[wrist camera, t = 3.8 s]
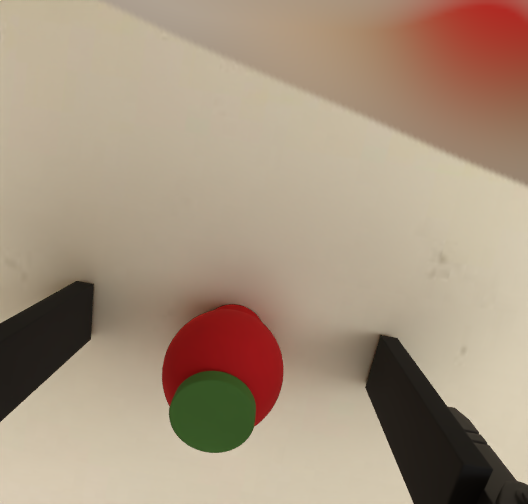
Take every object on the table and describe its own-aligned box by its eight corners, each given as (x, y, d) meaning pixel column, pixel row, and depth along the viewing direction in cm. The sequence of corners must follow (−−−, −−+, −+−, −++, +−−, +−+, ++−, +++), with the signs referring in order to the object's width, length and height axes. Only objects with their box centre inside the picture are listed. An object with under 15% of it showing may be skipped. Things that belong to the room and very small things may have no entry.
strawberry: (165, 320, 15) (108, 400, 10) (244, 268, 14) (226, 324, 9) (223, 390, 16) (198, 497, 10) (300, 344, 15) (314, 435, 10)
